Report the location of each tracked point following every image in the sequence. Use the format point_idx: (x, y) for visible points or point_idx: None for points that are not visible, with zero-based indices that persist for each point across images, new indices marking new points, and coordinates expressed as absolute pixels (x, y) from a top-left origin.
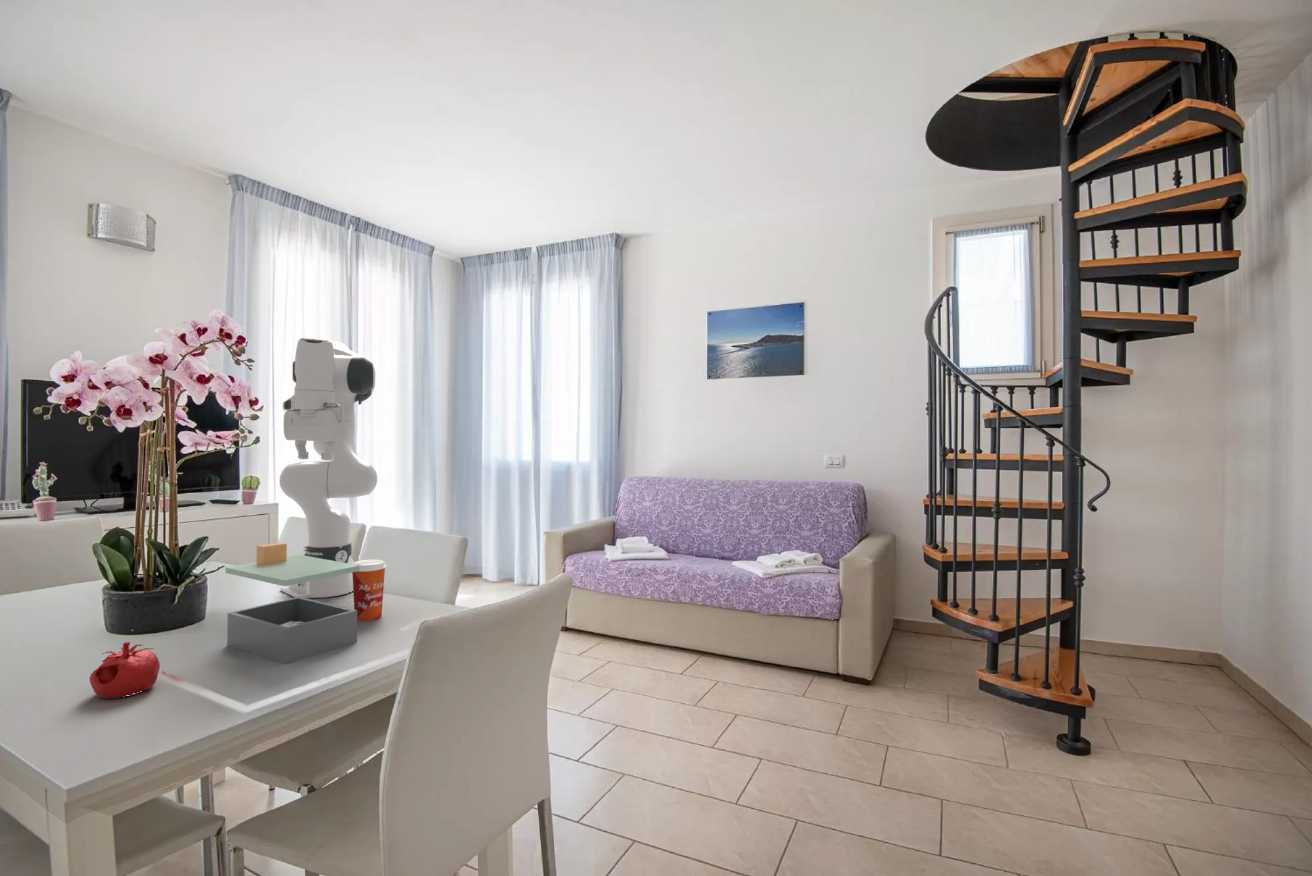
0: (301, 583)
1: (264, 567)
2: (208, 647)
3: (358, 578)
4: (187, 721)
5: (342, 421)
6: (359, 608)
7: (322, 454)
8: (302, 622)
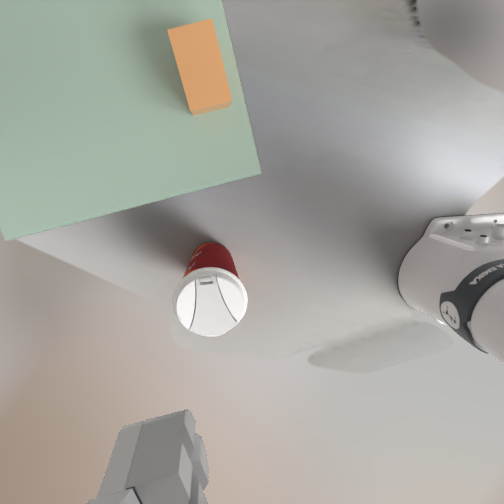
0: (465, 234)
1: (132, 35)
2: (245, 6)
3: (194, 269)
4: None
5: None
6: (198, 252)
7: (152, 462)
8: None
